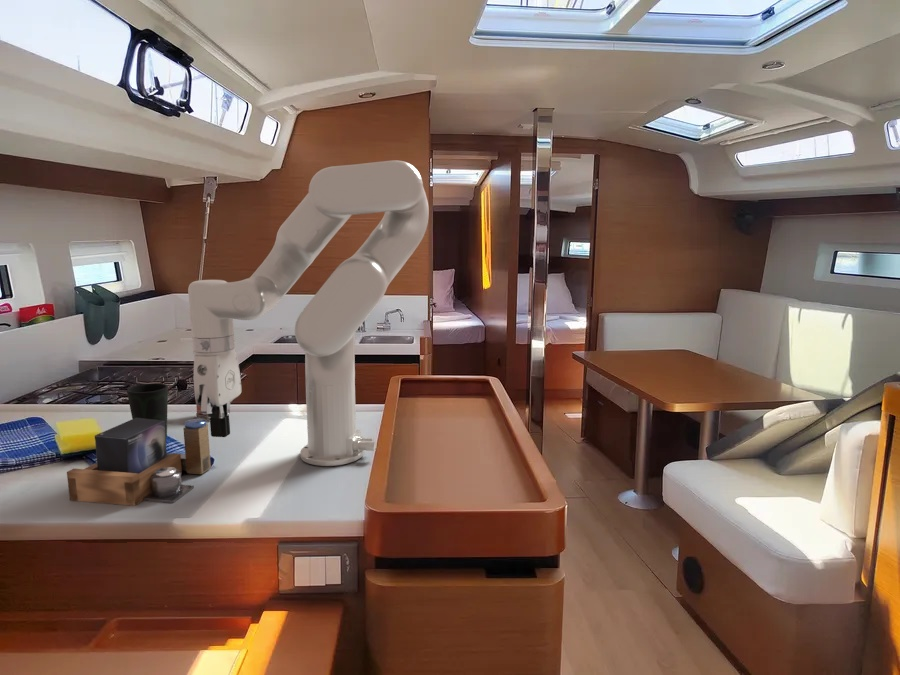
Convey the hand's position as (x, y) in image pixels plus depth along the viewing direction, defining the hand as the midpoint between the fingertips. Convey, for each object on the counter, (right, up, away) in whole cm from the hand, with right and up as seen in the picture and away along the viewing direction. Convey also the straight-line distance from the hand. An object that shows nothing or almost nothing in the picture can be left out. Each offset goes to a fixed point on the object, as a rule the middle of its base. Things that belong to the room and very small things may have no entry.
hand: (220, 435), depth 119 cm
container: (-7, -6, -6) cm, 11 cm away
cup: (-18, -3, +8) cm, 20 cm away
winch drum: (-3, -7, -16) cm, 18 cm away
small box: (-11, -7, -11) cm, 17 cm away
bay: (-11, -7, -13) cm, 19 cm away
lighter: (-12, 0, +25) cm, 28 cm away
